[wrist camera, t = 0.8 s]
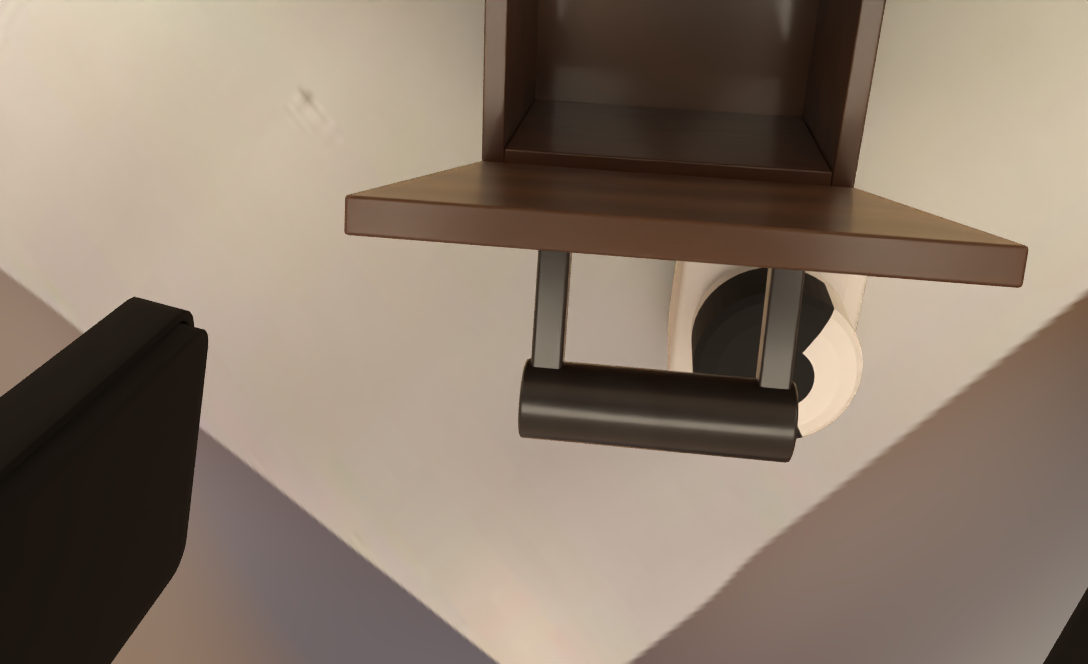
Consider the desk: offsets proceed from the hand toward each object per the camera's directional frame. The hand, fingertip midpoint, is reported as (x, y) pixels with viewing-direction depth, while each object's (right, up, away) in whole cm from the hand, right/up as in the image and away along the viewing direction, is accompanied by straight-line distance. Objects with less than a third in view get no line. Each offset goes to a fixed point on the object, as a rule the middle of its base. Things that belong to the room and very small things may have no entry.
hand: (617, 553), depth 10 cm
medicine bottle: (+9, +6, +37) cm, 38 cm away
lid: (+3, +6, +17) cm, 18 cm away
